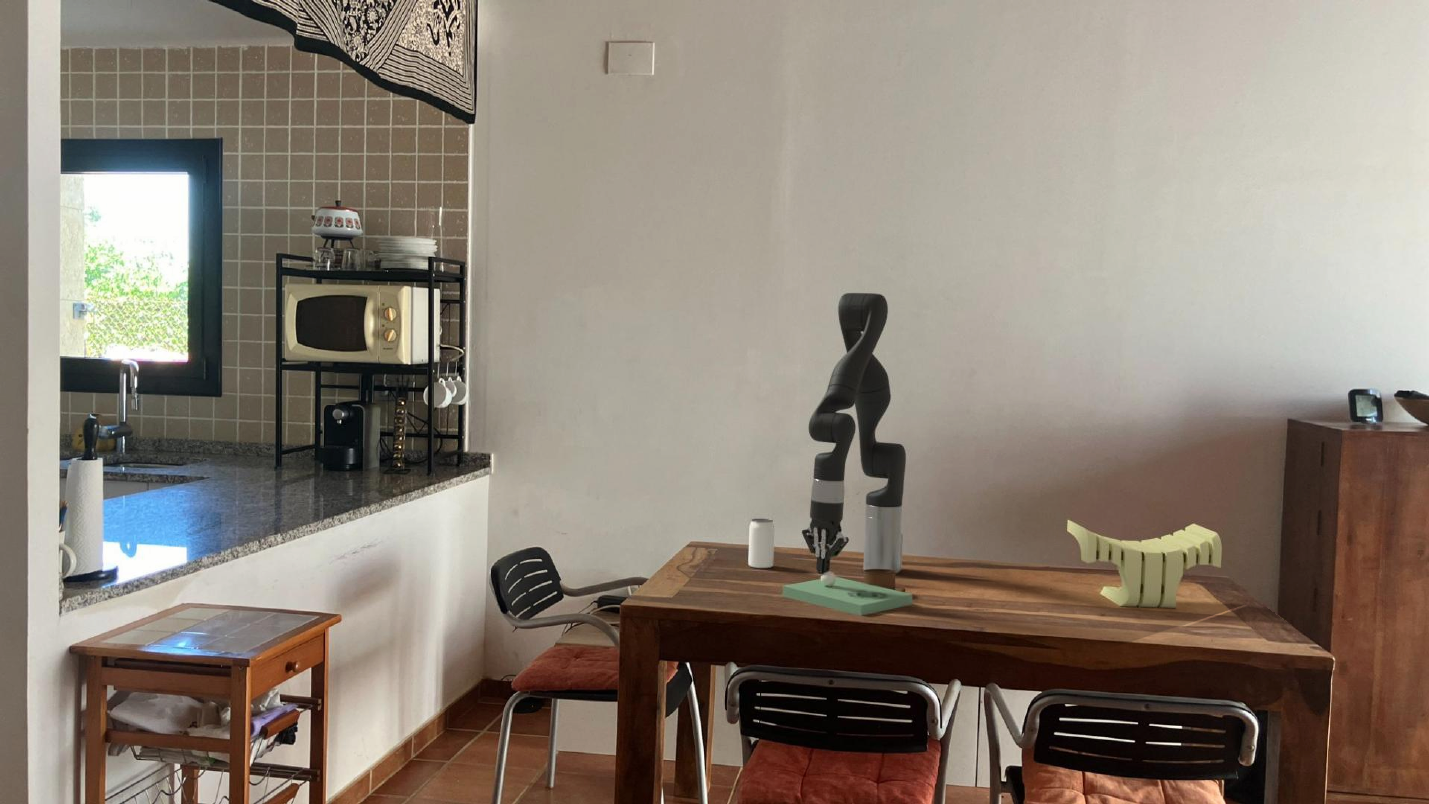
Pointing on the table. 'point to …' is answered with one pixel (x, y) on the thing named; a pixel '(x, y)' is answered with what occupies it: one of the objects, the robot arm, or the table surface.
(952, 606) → the table surface
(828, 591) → the green
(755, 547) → the can
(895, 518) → the robot arm
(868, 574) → the brown cylindrical stub
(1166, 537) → the slatted curved stool
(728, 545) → the table surface
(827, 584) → the ball
